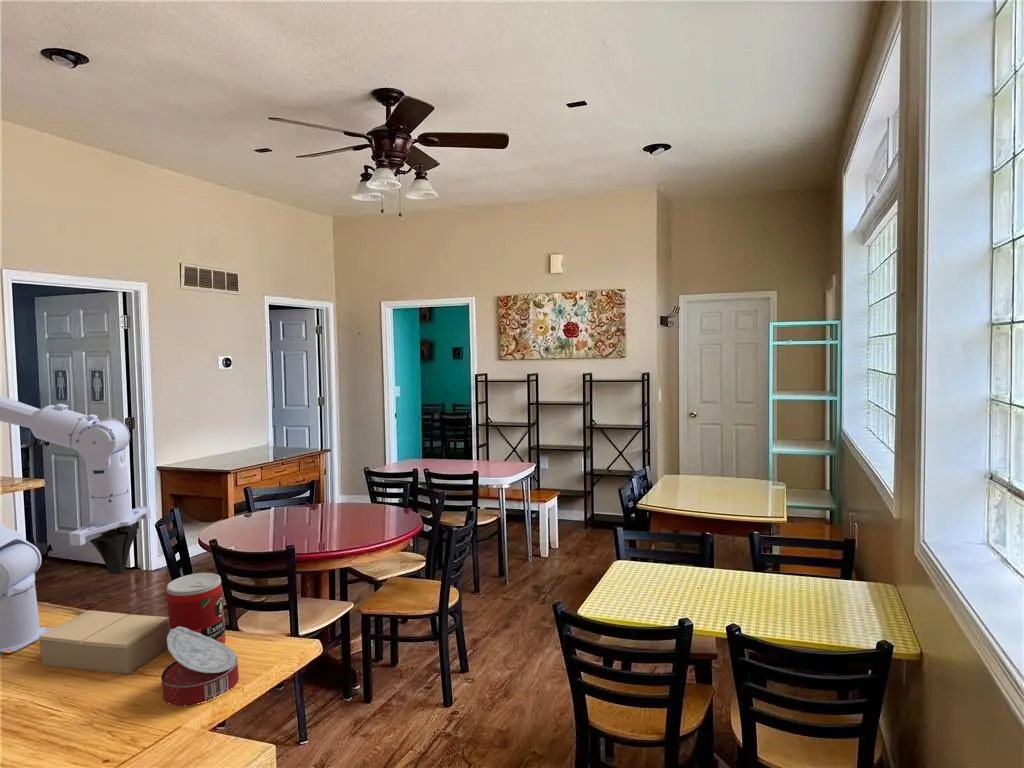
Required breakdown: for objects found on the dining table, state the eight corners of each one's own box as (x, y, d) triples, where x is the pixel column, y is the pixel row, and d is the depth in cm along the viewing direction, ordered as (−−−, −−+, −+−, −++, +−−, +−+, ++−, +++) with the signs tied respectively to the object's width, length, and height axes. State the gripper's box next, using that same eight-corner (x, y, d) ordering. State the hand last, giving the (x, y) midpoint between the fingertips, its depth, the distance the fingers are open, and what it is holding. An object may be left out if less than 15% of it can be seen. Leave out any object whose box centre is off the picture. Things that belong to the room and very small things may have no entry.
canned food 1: (213, 660, 102) (207, 591, 101) (161, 661, 102) (155, 592, 101) (235, 635, 110) (229, 571, 108) (187, 637, 110) (181, 572, 109)
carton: (41, 665, 102) (39, 640, 102) (91, 637, 111) (89, 614, 110) (128, 675, 98) (126, 649, 98) (173, 645, 107) (170, 621, 107)
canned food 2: (201, 699, 100) (218, 629, 103) (246, 709, 95) (263, 635, 98) (130, 700, 91) (152, 623, 94) (176, 712, 86) (198, 630, 89)
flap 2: (170, 620, 107) (169, 617, 107) (125, 648, 98) (125, 644, 98) (130, 618, 108) (129, 614, 108) (82, 644, 100) (82, 641, 100)
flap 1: (39, 639, 102) (39, 635, 102) (89, 613, 110) (89, 610, 110) (80, 644, 100) (80, 640, 100) (128, 617, 109) (127, 614, 108)
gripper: (92, 506, 102) (101, 592, 103) (162, 482, 116) (169, 558, 117) (54, 505, 103) (64, 589, 105) (128, 481, 117) (136, 556, 119)
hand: (117, 572), depth 111 cm, fingers closed
